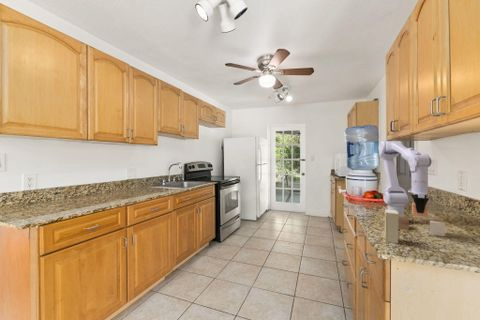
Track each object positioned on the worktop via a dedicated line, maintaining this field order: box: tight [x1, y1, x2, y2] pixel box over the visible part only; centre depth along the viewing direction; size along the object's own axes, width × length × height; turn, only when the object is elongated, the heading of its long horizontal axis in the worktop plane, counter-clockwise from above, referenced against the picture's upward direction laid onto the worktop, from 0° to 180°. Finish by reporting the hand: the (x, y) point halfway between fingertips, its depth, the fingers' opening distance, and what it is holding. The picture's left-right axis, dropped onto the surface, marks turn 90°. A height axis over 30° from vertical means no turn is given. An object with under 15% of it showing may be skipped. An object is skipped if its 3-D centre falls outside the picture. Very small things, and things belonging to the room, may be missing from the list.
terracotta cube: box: [411, 202, 429, 218], centre depth 97 cm, size 5×5×5 cm
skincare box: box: [384, 209, 399, 245], centre depth 89 cm, size 6×4×12 cm
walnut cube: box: [398, 216, 410, 231], centre depth 106 cm, size 5×5×5 cm
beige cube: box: [429, 220, 446, 237], centre depth 97 cm, size 5×5×5 cm
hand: (419, 211), depth 97 cm, fingers closed on terracotta cube, 5 cm apart
